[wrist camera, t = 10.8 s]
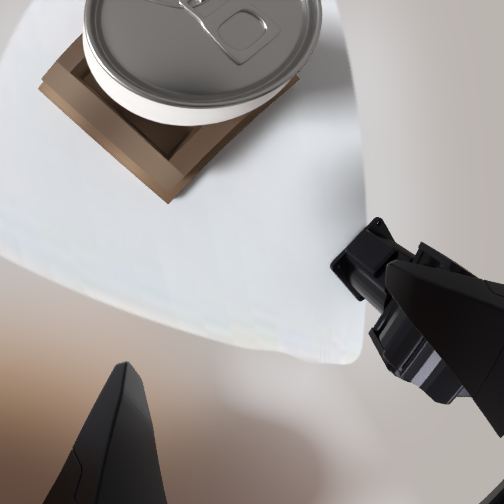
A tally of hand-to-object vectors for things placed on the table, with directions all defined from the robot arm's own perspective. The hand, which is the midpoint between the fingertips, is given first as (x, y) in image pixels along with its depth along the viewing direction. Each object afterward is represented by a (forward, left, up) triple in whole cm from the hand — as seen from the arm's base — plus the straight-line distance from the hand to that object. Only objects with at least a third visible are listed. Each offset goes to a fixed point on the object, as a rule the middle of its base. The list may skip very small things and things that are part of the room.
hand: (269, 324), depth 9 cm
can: (+8, -5, -12) cm, 15 cm away
